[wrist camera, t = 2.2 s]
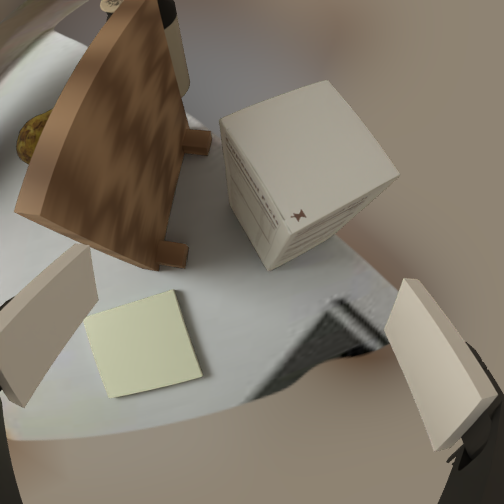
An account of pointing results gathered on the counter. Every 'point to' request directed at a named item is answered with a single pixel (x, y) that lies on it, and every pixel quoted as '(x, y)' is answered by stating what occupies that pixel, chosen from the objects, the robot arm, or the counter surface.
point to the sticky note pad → (142, 345)
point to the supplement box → (300, 169)
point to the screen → (116, 145)
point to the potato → (31, 136)
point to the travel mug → (173, 38)
